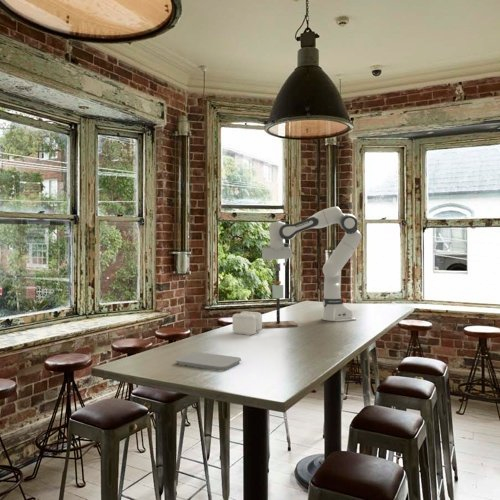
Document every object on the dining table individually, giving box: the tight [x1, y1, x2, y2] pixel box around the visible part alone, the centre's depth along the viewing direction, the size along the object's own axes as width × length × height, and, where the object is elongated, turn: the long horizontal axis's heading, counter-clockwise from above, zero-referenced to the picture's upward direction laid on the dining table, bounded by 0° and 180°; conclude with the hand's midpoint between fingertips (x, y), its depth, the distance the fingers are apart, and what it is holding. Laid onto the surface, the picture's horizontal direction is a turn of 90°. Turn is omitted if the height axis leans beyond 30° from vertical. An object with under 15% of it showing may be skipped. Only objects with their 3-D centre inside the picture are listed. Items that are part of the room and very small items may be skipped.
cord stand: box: [262, 263, 299, 329], centre depth 282 cm, size 22×13×39 cm, turn 99°
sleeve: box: [271, 284, 284, 299], centre depth 282 cm, size 5×5×8 cm
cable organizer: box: [231, 310, 263, 336], centre depth 262 cm, size 15×11×12 cm
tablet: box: [175, 351, 242, 371], centre depth 198 cm, size 16×26×2 cm, turn 62°
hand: (277, 266), depth 304 cm, fingers open, 8 cm apart
